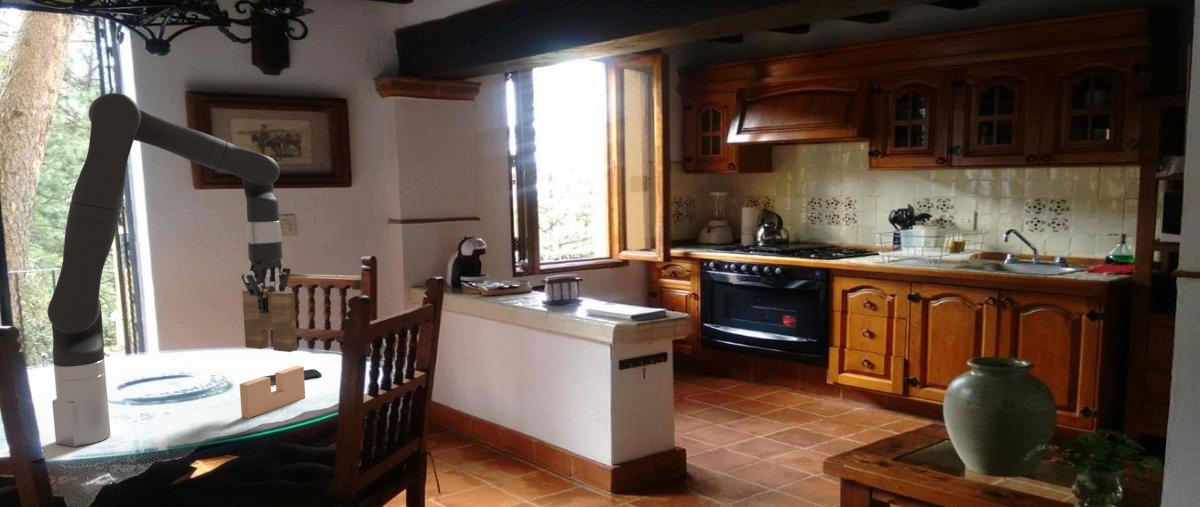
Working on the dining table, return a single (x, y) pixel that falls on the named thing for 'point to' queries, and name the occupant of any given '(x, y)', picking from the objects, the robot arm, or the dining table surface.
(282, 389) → the horizontal wooden crosspiece
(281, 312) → the upright wooden board
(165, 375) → the dining table surface
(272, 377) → the phone
